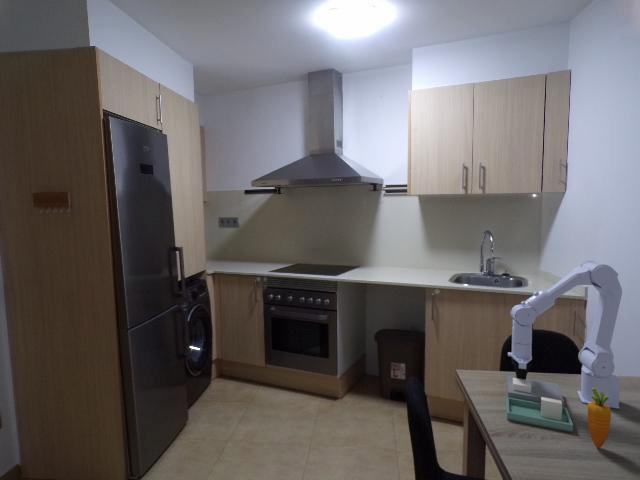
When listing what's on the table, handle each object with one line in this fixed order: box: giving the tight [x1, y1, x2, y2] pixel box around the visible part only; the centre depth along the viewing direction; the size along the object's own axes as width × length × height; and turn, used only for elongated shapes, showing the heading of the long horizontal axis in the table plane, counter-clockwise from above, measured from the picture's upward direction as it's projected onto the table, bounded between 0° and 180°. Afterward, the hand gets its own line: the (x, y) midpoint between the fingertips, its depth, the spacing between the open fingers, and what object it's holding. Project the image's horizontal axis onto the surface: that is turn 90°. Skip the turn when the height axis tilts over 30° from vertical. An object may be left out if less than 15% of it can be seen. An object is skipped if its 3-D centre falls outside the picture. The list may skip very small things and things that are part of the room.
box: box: [505, 396, 574, 434], centre depth 108 cm, size 16×10×2 cm, turn 65°
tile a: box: [541, 397, 562, 421], centre depth 108 cm, size 5×5×2 cm
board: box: [506, 375, 565, 407], centre depth 120 cm, size 15×13×4 cm
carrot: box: [587, 388, 612, 449], centre depth 94 cm, size 5×5×15 cm
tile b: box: [513, 378, 531, 393], centre depth 119 cm, size 5×5×2 cm
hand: (520, 382), depth 122 cm, fingers closed
